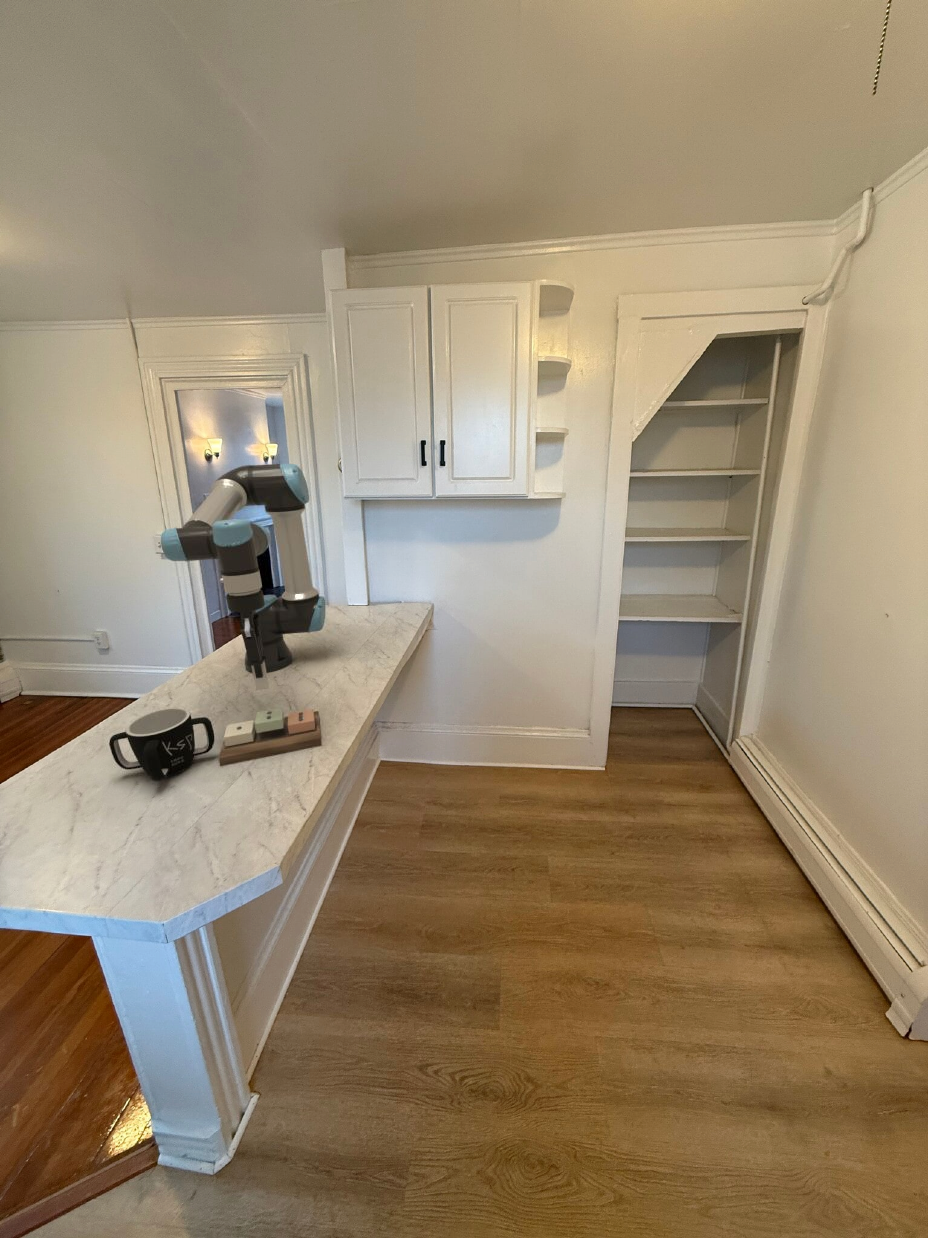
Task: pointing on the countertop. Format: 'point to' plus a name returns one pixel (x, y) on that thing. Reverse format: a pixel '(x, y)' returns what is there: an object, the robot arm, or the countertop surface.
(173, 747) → the mug
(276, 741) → the board
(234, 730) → the key
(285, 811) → the countertop surface
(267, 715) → the key
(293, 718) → the key
